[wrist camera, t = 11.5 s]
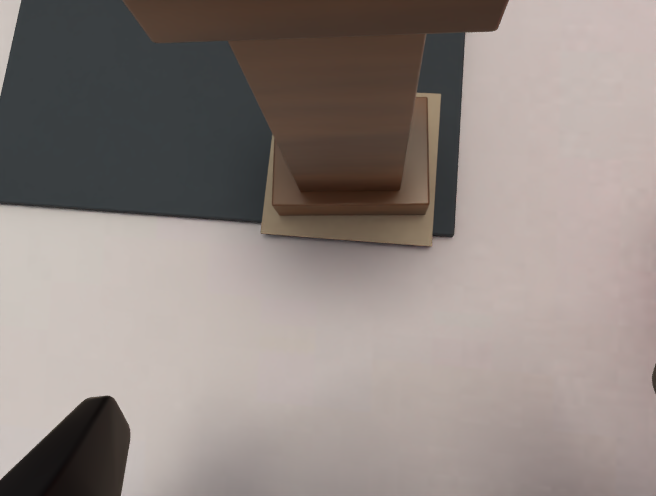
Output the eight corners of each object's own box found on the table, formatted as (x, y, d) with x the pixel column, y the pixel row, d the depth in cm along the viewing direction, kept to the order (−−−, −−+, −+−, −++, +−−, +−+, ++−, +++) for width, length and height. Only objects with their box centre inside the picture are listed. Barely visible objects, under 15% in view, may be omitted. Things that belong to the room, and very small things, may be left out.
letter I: (425, 215, 19) (526, -37, 7) (278, 216, 20) (106, -18, 7) (423, 114, 20) (510, -291, 7) (282, 117, 20) (131, -257, 8)
